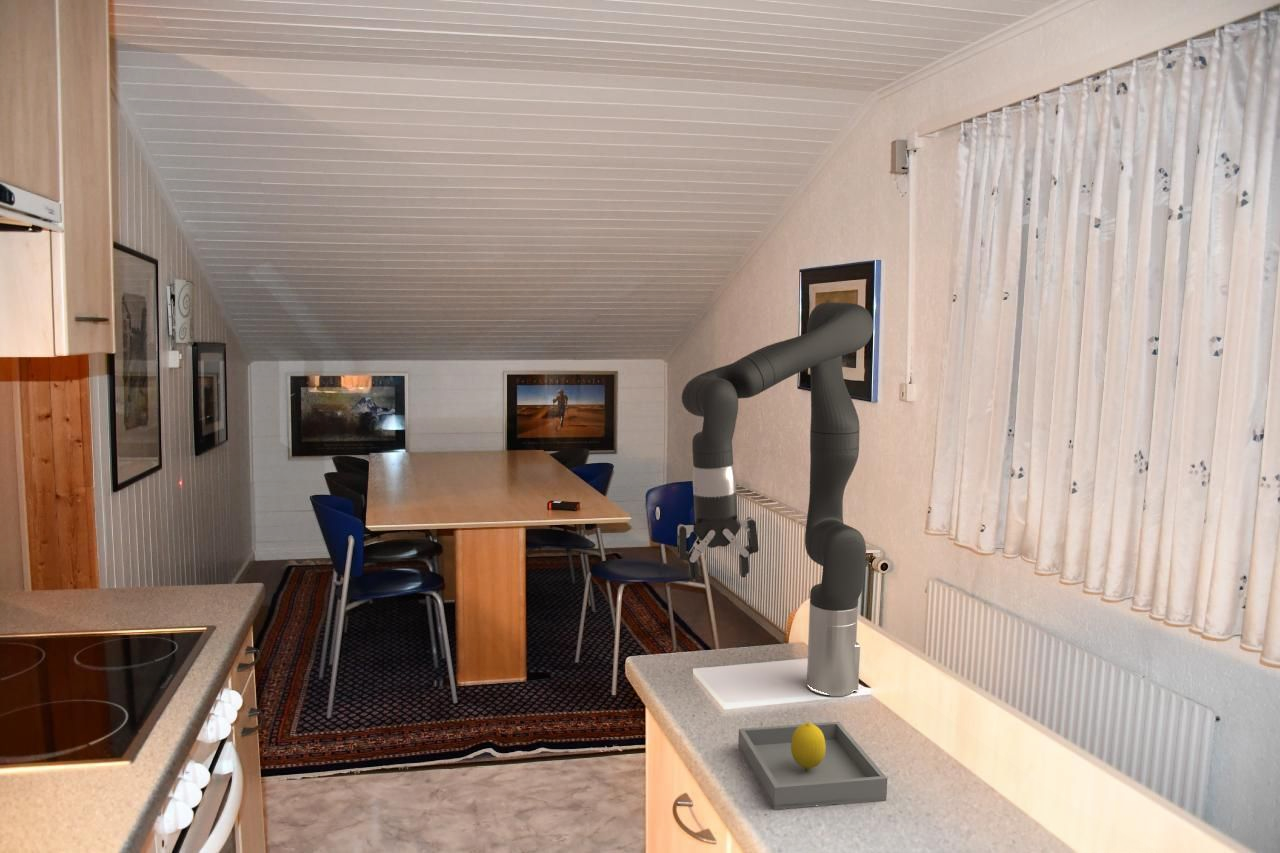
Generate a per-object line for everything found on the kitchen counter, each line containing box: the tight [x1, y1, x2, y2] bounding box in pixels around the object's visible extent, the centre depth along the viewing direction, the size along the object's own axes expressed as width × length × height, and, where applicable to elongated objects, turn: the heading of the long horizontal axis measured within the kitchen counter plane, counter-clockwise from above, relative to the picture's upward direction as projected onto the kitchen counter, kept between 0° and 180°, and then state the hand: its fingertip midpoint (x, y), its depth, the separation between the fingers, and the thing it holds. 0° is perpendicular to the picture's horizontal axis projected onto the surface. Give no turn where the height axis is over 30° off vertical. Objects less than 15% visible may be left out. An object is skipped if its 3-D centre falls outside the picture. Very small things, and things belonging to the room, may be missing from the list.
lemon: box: [791, 721, 826, 770], centre depth 159 cm, size 6×6×8 cm
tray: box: [737, 721, 888, 810], centre depth 160 cm, size 18×20×4 cm
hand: (719, 578), depth 176 cm, fingers open, 8 cm apart
